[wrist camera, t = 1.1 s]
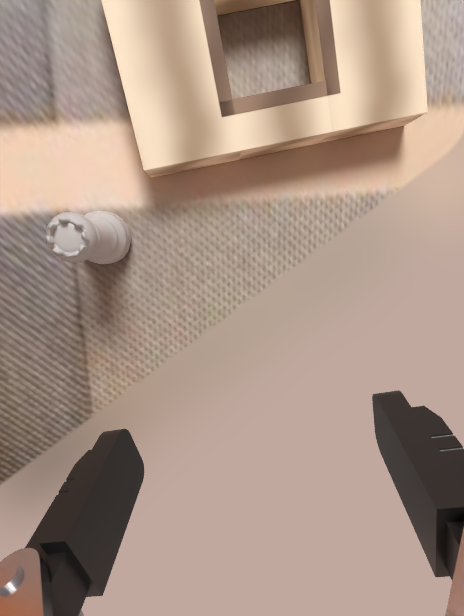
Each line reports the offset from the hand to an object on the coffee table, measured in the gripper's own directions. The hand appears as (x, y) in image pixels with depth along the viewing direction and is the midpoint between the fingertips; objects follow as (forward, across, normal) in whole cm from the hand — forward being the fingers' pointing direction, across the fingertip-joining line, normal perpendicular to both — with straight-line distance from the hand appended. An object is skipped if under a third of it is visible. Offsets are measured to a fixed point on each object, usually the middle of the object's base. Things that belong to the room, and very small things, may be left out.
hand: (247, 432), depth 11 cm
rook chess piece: (+20, +12, -5) cm, 23 cm away
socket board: (+24, -4, -15) cm, 29 cm away
